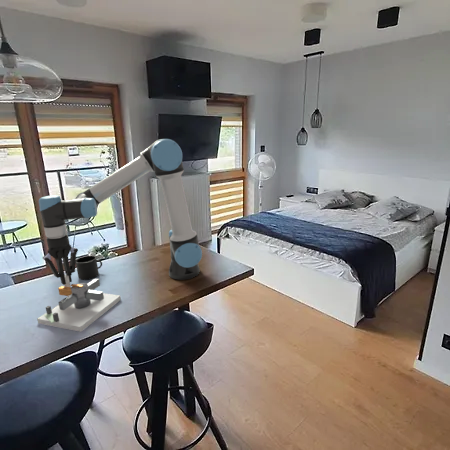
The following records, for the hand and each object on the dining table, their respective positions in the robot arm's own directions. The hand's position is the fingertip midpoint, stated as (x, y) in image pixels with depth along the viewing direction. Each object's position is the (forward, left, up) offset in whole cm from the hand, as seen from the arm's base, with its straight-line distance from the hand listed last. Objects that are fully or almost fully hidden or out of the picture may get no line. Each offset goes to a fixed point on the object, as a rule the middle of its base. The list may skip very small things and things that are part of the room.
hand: (68, 290), depth 129 cm
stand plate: (-8, +3, -7) cm, 11 cm away
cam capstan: (-8, +2, -4) cm, 9 cm away
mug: (+12, -26, -7) cm, 29 cm away
